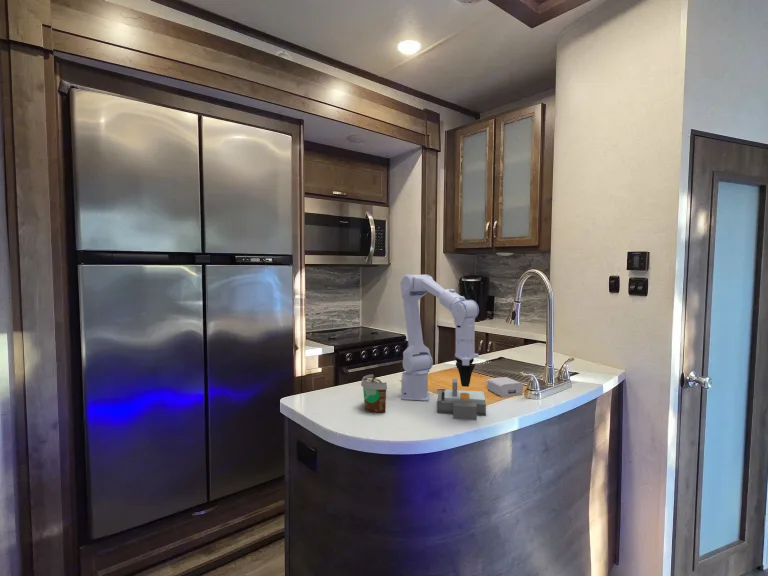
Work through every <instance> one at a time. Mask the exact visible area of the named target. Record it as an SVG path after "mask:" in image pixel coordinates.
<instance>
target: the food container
mask: <svg viewBox="0 0 768 576" xmlns="http://www.w3.org/2000/svg"><path fill="white" fill-rule="evenodd" d="M360 386H361V387H362V391H363V402H364V403H363V404H364V410H365V411H366V412H368V413H371V412H372V413H373V414H385V413H386V408H387V406H386V405H387V390H388V384H387V382H382V381H381V380H380V379H378V378H375V377H374V374H373V373H372V374H367V375H365V376H363V377H362V379H361V383H360Z"/></svg>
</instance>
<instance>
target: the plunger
mask: <svg viewBox="0 0 768 576" xmlns="http://www.w3.org/2000/svg"><path fill="white" fill-rule="evenodd" d="M460 399H461V400H463V401H468V400H469V393H460Z"/></svg>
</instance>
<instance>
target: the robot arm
mask: <svg viewBox="0 0 768 576" xmlns="http://www.w3.org/2000/svg"><path fill="white" fill-rule="evenodd" d="M399 284H400V291H401V298H402V302H403V311H404V319H405V327H406V334H407V336H406V337H407V341H408V342H407V344H408V345H407V347H406V348H405V350H404V351H403V352H402V356H403V357H402V368H403V370H404V371H403V372H402V373H401V383H400V384H401V389H400V393H401V398H400V399H401V400H403V401H404V400H406V401H407V400H408V401H409V400H410V401H422V402H423V401H426V402H427V401H429V399H430V392H429V387H428V386H429V374H428V373H430V371H431V369H432V368H433V363H434V361H433V357H432V355H431V352H430V349H429V347H428V346H426V345H425V344H424V339H423V330H422V323H421V315H420V307H419V300H421V298H423V297H424V296H426V294H427V293H429V294H432V295H433V296H435V297H436V298H438V301H439V303H440V305H441V306H443V307H445V308H446V309H447V310H448V311H450V312H451V316H452V317H453V323H454V325H455V353H454V357H455V361H456V362H455V366H456V368H457V371H458V373H459V379H460V384H461V387H465V388H466V387H468V388H469V387H470V384H471V379H472V378H471V377H472V374H473V371H474V370H475V367H476V364H475V363H474V360H475V358H478V357H479V353H476V352H475V346H476V345H475V341H476V340H475V339H476V338H475V331H476V329H475V327H476V325H475V324H476V319H477V318H478V315H479V313H480V309H479V305H478V303H477V301H475V300H473V299H466V297H465V296H464V295H462V296H461V295H460V294H459V293H457V292H456V290H455V288H447V289H445V288H444V287H443V286H441V285H440V284H439V283H438V282H437V281H435V280H434V278H433V276H431V275H429V274H426V273H425V274H424V273H423V274H408V273H406V274H404V276H402V278H401V280H400V283H399Z"/></svg>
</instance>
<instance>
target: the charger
mask: <svg viewBox="0 0 768 576" xmlns="http://www.w3.org/2000/svg"><path fill="white" fill-rule="evenodd" d="M485 382H486V383H487V390H488V391H489V392H491V393H493V394H495V395H497V396H499V397H501V398H507V397H516V396H517V397H518V396H523V393H524V391H523V390H524V384H523V383H522V382H520V381H517V380H515V379H512V378H510V377H507V376H504V377H502V376H501V377H493V378H492V377H491V378H487V379H486V381H485Z"/></svg>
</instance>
